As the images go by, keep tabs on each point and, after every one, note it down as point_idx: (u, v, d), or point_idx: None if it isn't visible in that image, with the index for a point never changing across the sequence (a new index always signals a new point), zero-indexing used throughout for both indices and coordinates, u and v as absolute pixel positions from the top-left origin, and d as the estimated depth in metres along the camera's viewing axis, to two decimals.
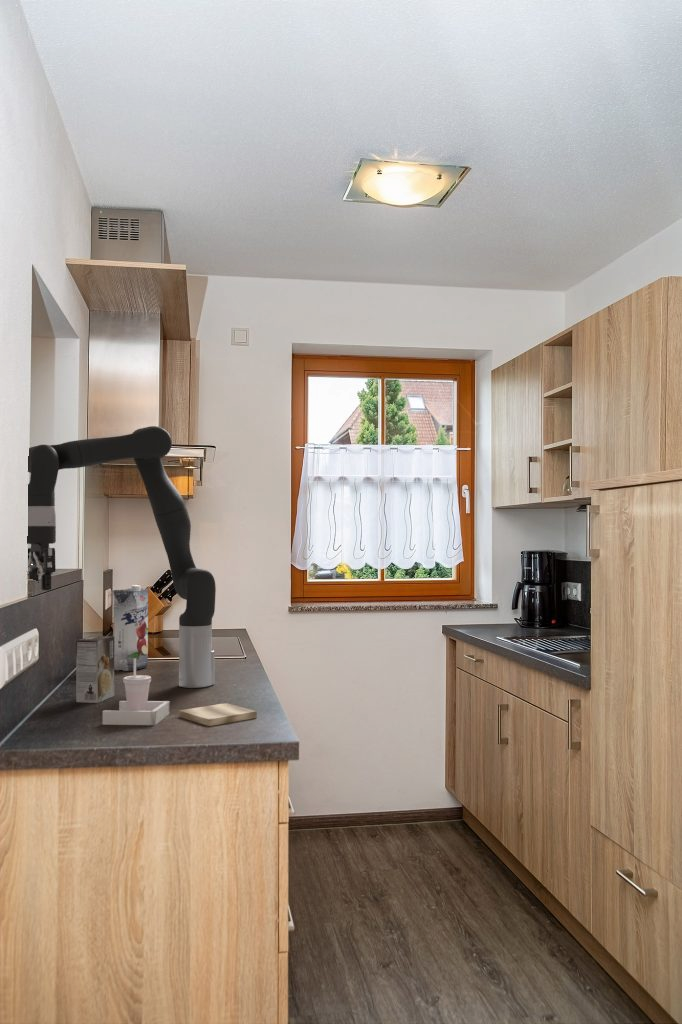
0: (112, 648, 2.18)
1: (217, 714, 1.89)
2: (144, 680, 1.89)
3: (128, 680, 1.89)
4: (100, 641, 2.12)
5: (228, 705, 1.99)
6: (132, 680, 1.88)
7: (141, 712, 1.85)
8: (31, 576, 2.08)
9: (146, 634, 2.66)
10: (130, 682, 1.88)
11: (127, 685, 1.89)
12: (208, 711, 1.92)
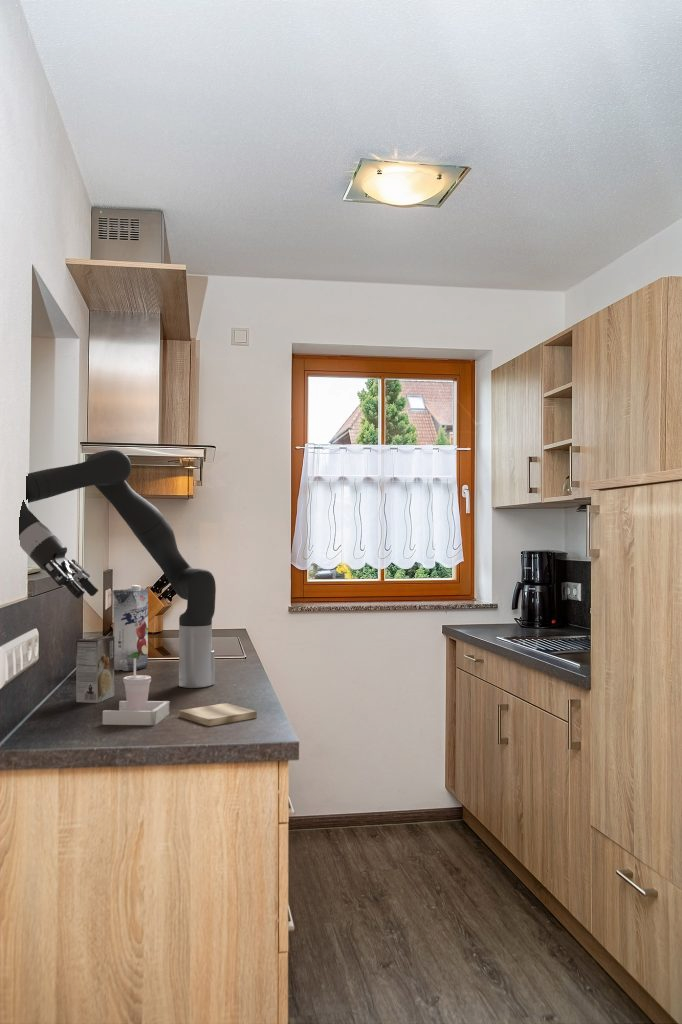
0: (112, 648, 2.18)
1: (217, 714, 1.89)
2: (144, 680, 1.89)
3: (128, 680, 1.89)
4: (100, 641, 2.12)
5: (228, 705, 1.99)
6: (132, 680, 1.88)
7: (141, 712, 1.85)
8: (83, 586, 1.97)
9: (146, 634, 2.66)
10: (130, 682, 1.88)
11: (127, 685, 1.89)
12: (208, 711, 1.92)
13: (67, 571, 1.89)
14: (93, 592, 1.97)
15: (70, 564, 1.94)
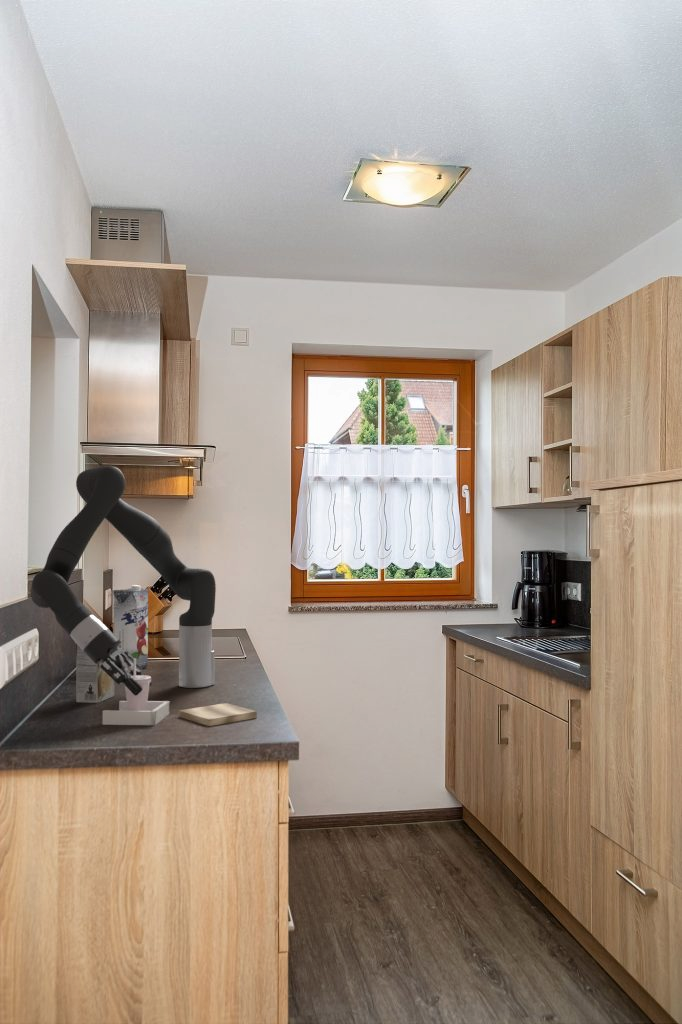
0: None
1: (217, 714, 1.89)
2: (144, 680, 1.89)
3: None
4: None
5: (228, 705, 1.99)
6: None
7: (141, 712, 1.85)
8: None
9: (146, 634, 2.66)
10: None
11: None
12: (208, 711, 1.92)
13: (124, 667, 1.88)
14: None
15: (123, 657, 1.93)
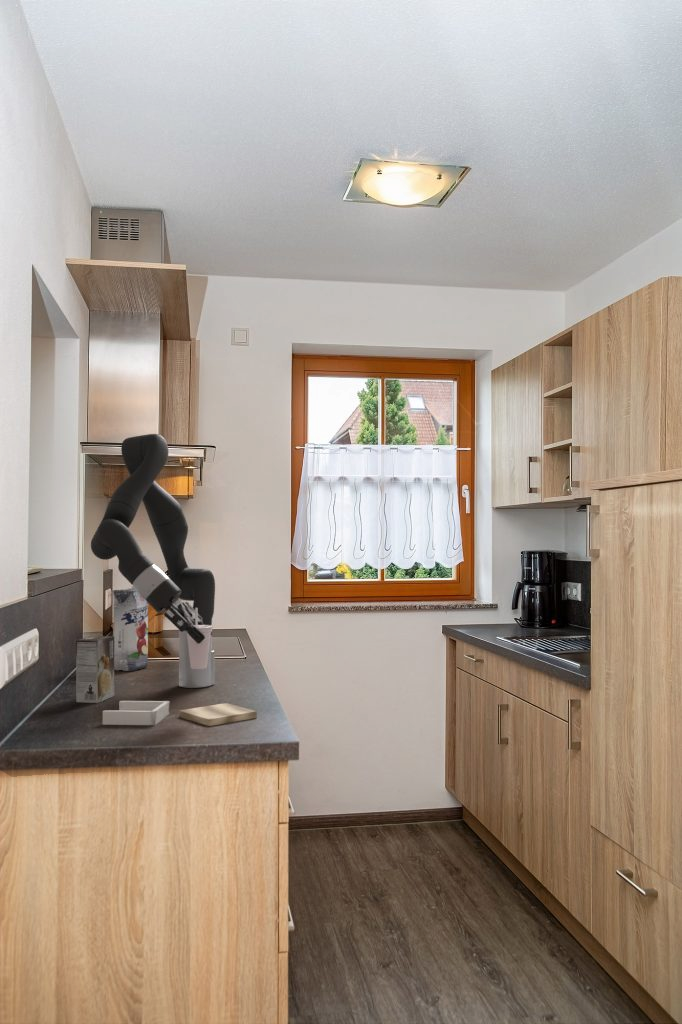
0: (112, 648, 2.18)
1: (217, 714, 1.89)
2: (206, 629, 1.91)
3: None
4: (100, 641, 2.12)
5: (228, 705, 1.99)
6: None
7: (141, 712, 1.85)
8: None
9: (146, 634, 2.66)
10: None
11: None
12: (208, 711, 1.92)
13: (186, 616, 1.90)
14: None
15: (185, 606, 1.94)
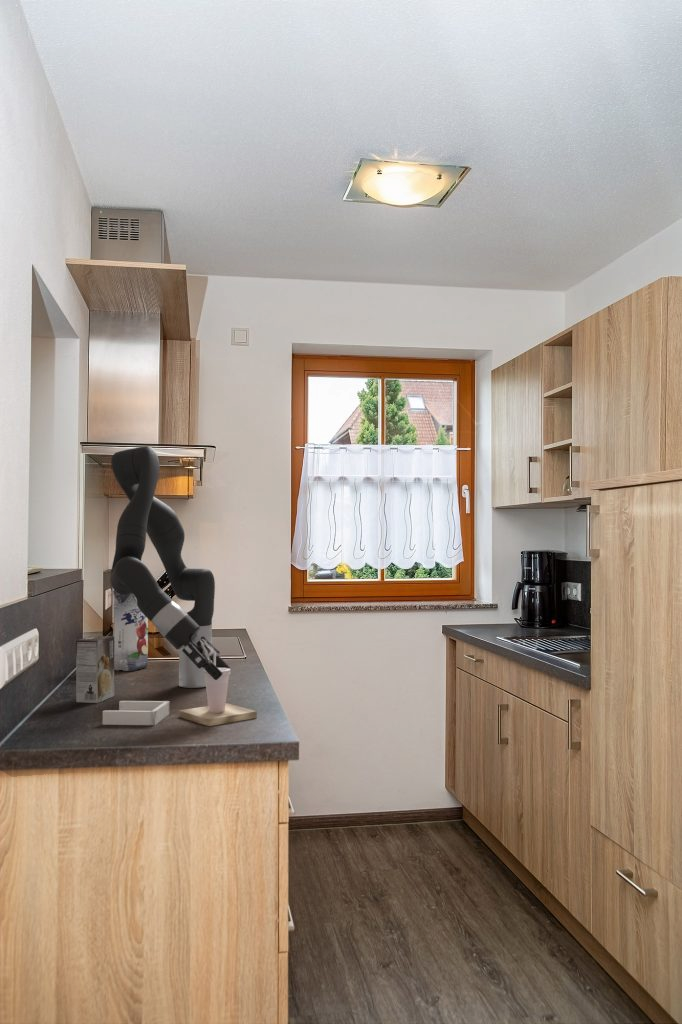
0: (112, 648, 2.18)
1: (217, 714, 1.89)
2: (225, 672, 1.91)
3: None
4: (100, 641, 2.12)
5: (228, 705, 1.99)
6: None
7: (141, 712, 1.85)
8: None
9: (146, 634, 2.66)
10: None
11: (208, 677, 1.91)
12: (208, 711, 1.92)
13: (204, 652, 1.89)
14: None
15: (204, 643, 1.94)
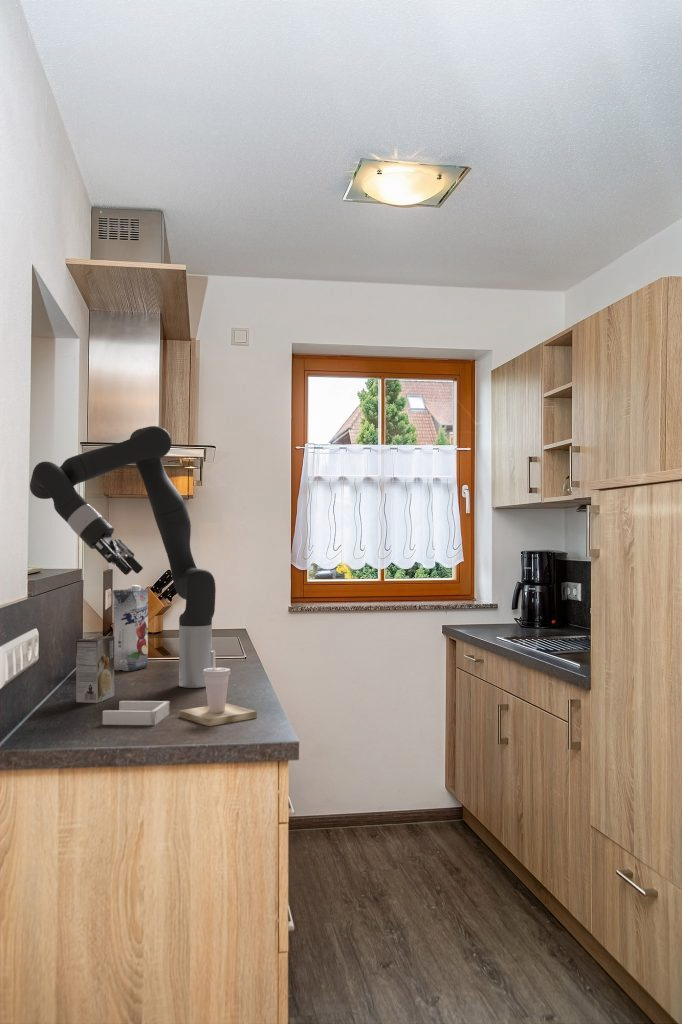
0: (112, 648, 2.18)
1: (217, 714, 1.89)
2: (224, 672, 1.91)
3: (209, 672, 1.90)
4: (100, 641, 2.12)
5: (228, 705, 1.99)
6: (213, 672, 1.90)
7: (141, 712, 1.85)
8: (129, 564, 2.10)
9: (146, 634, 2.66)
10: (211, 674, 1.90)
11: (207, 677, 1.90)
12: (208, 711, 1.92)
13: (115, 549, 2.02)
14: (138, 570, 2.10)
15: (117, 543, 2.07)
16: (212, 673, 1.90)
